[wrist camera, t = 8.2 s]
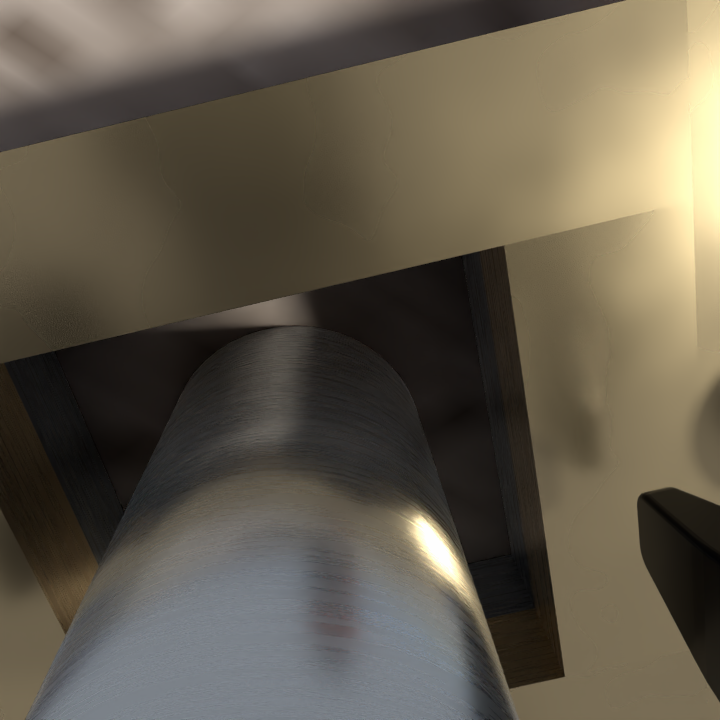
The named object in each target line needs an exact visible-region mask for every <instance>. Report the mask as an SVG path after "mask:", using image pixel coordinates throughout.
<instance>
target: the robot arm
mask: <svg viewBox="0 0 720 720" xmlns="http://www.w3.org/2000/svg"><path fill="white" fill-rule="evenodd" d="M637 515H638V528H639V542H640V550H641V555H642V558H643V561H644V564H645V566H646V568H647V570H648V572H649V574H650V576H651V578H652V580H653V582H654V583H655V585H656V587H657V589H658V591H659V593H660V595H661V597H662V599H663V601H664V602H665V604H666V606H667V608H668V610H669V612H670V614H671V616H672V618H673V620H674V622H675V623H676V625H677V627H678V629H679V631H680V633H681V635H682V637H683V639H684V641H685V642H686V644H687V646H688V648H689V650H690V652H691V654H692V656H693V658H694V660H695V662H696V663H697V665H698V667H699V669H700V671H701V672H702V674H703V676H704V678H705V680H706V681H707V683H708V685H709V686H710V688H711V690H712V691H713V693H714V694H715V696H716V697H717V699H718V701H719V702H720V505H717V504H715V503H712V502H710V501H707V500H705V499H703V498H700V497H698V496H695V495H693V494H690V493H688V492H685V491H683V490H680V489H678V488H675V487H665V488H660V489H656V490H652V491H647V492H643V493H641V494H640V495H639V497H638V500H637Z"/></svg>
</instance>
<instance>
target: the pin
mask: <svg viewBox="0 0 720 720" xmlns="http://www.w3.org/2000/svg"><path fill="white" fill-rule="evenodd" d="M25 720H519V718H518V715H517V712H516V709H515V706H514V702H513V699H512V696H511V693H510V690H509V687H508V684H507V681H506V678H505V675H504V672H503V669H502V666H501V663H500V660H499V657H498V654H497V651H496V648H495V645H494V642H493V639H492V636H491V633H490V630H489V627H488V624H487V621H486V618H485V615H484V612H483V609H482V606H481V603H480V600H479V597H478V594H477V591H476V588H475V585H474V582H473V579H472V576H471V572H470V569H469V566H468V563H467V560H466V557H465V554H464V551H463V548H462V545H461V542H460V539H459V536H458V533H457V530H456V527H455V524H454V521H453V518H452V515H451V512H450V509H449V506H448V503H447V500H446V497H445V494H444V491H443V488H442V485H441V482H440V479H439V476H438V473H437V470H436V467H435V464H434V461H433V458H432V455H431V452H430V449H429V446H428V443H427V439H426V436H425V433H424V430H423V427H422V424H421V421H420V418H419V415H418V412H417V409H416V406H415V403H414V401H413V398H412V396H411V394H410V392H409V390H408V388H407V386H406V385H405V383H404V381H403V380H402V378H401V377H400V375H399V374H398V373H397V372H396V371H395V369H394V368H393V367H392V366H391V365H390V364H389V363H388V362H387V361H386V360H385V359H384V358H383V357H381V356H380V355H379V354H378V353H377V352H375V351H374V350H372V349H371V348H369V347H368V346H366V345H365V344H363V343H361V342H359V341H357V340H355V339H353V338H351V337H349V336H346V335H343V334H340V333H338V332H335V331H331V330H326V329H322V328H317V327H306V326H284V327H276V328H270V329H264V330H261V331H257V332H254V333H251V334H248V335H245V336H243V337H241V338H239V339H236V340H234V341H232V342H230V343H229V344H227V345H225V346H224V347H222V348H221V349H219V350H218V351H216V352H215V353H214V354H213V355H211V356H210V357H209V358H208V359H207V360H205V361H204V363H203V364H202V365H201V366H200V367H199V368H198V369H197V370H196V371H195V372H194V374H193V375H192V377H191V378H190V380H189V381H188V383H187V384H186V386H185V388H184V390H183V392H182V394H181V396H180V398H179V400H178V402H177V404H176V406H175V408H174V410H173V412H172V414H171V417H170V419H169V421H168V423H167V425H166V427H165V429H164V431H163V433H162V435H161V437H160V439H159V442H158V444H157V446H156V448H155V450H154V452H153V454H152V456H151V458H150V460H149V462H148V464H147V467H146V469H145V471H144V473H143V475H142V477H141V479H140V481H139V483H138V485H137V487H136V489H135V492H134V494H133V496H132V498H131V500H130V502H129V504H128V506H127V508H126V510H125V512H124V514H123V516H122V519H121V521H120V523H119V525H118V527H117V529H116V531H115V533H114V535H113V537H112V539H111V541H110V544H109V546H108V548H107V550H106V552H105V554H104V556H103V558H102V560H101V562H100V564H99V566H98V569H97V571H96V573H95V575H94V577H93V579H92V581H91V583H90V585H89V587H88V589H87V591H86V594H85V596H84V598H83V600H82V602H81V604H80V606H79V608H78V610H77V612H76V614H75V616H74V619H73V621H72V623H71V625H70V627H69V629H68V631H67V633H66V635H65V637H64V639H63V641H62V644H61V646H60V648H59V650H58V652H57V654H56V656H55V658H54V660H53V662H52V664H51V666H50V668H49V671H48V673H47V675H46V677H45V679H44V681H43V683H42V685H41V687H40V689H39V691H38V693H37V696H36V698H35V700H34V702H33V704H32V706H31V708H30V710H29V712H28V714H27V716H26V718H25Z"/></svg>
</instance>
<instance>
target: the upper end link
mask: <svg viewBox="0 0 720 720" xmlns="http://www.w3.org/2000/svg"><path fill="white" fill-rule="evenodd" d="M478 251H479V252H480V259H481V265H482V271H483V278H484V284H485V291H486V297H487V303H488V310H489V316H490V323H491V329H492V335H493V342H494V348H495V355H496V361H497V368H498V374H499V380H500V387H501V393H502V400H503V406H504V412H505V419H506V425H507V432H508V438H509V444H510V451H511V457H512V464H513V470H514V476H515V483H516V489H517V496H518V502H519V509H520V515H521V521H522V528H523V534H524V541H525V547H526V553H527V560H528V566H529V573H530V579H531V585H532V592H533V598H534V605H535V608H534V609H529V610H525V611H520V612H516V613H511V614H507V615H502V616H498V617H493V618H489V619H486V621H487V624H488V627H489V630H490V633H491V636H492V639H493V642H494V645H495V648H496V651H497V654H498V657H499V660H500V663H501V666H502V669H503V672H504V675H505V678H506V681H507V684H508V687H509V690H510V693H511V696H512V699H513V702H514V706H515V709H516V712H517V715H518V718H519V720H720V702H719V701H718V699H717V697H716V696H715V694H714V693H713V691H712V690H711V688H710V686H709V685H708V683H707V681H706V680H705V678H704V676H703V674H702V672H701V671H700V669H699V667H698V665H697V663H696V662H695V660H694V658H693V656H692V654H691V652H690V650H689V648H688V646H687V644H686V642H685V641H684V639H683V637H682V635H681V633H680V631H679V629H678V627H677V625H676V623H675V622H674V620H673V618H672V616H671V614H670V612H669V610H668V608H667V606H666V604H665V602H664V601H663V599H662V597H661V595H660V593H659V591H658V589H657V587H656V585H655V583H654V582H653V580H652V578H651V576H650V574H649V572H648V570H647V568H646V566H645V564H644V561H643V558H642V555H641V550H640V542H639V528H638V515H637V500H638V497H639V495H640V494H641V493H643V492H647V491H652V490H656V489H660V488H665V487H675V488H678V489H680V490H683V491H685V492H688V493H690V494H693V495H695V496H698V497H700V498H703V499H705V500H707V501H710V502H712V503H715V504H717V505H720V0H625V1H621V2H617V3H613V4H609V5H604V6H600V7H596V8H592V9H588V10H584V11H580V12H576V13H572V14H567V15H563V16H559V17H555V18H551V19H547V20H543V21H539V22H534V23H530V24H526V25H522V26H518V27H514V28H510V29H506V30H502V31H497V32H493V33H489V34H485V35H481V36H477V37H473V38H469V39H464V40H460V41H456V42H452V43H448V44H444V45H440V46H436V47H432V48H427V49H423V50H419V51H415V52H411V53H407V54H403V55H399V56H394V57H390V58H386V59H382V60H378V61H374V62H370V63H366V64H362V65H357V66H353V67H349V68H345V69H341V70H337V71H333V72H329V73H324V74H320V75H316V76H312V77H308V78H304V79H300V80H296V81H292V82H287V83H283V84H279V85H275V86H271V87H267V88H263V89H259V90H255V91H250V92H246V93H242V94H238V95H234V96H230V97H226V98H222V99H217V100H213V101H209V102H205V103H201V104H197V105H193V106H189V107H185V108H180V109H176V110H172V111H168V112H164V113H160V114H156V115H152V116H147V117H143V118H139V119H135V120H131V121H127V122H123V123H119V124H115V125H110V126H106V127H102V128H98V129H94V130H90V131H86V132H82V133H77V134H73V135H69V136H65V137H61V138H57V139H53V140H49V141H45V142H40V143H36V144H32V145H28V146H24V147H20V148H16V149H12V150H8V151H3V152H0V720H25V718H26V716H27V714H28V712H29V710H30V708H31V706H32V704H33V702H34V700H35V698H36V696H37V693H38V691H39V689H40V687H41V685H42V683H43V681H44V679H45V677H46V675H47V673H48V671H49V668H50V666H51V664H52V662H53V660H54V658H55V656H56V654H57V652H58V650H59V648H60V646H61V644H62V641H63V639H64V637H65V635H66V633H67V631H68V629H69V627H70V625H71V623H72V621H73V619H74V616H75V614H76V612H77V610H78V608H79V606H80V604H81V602H82V600H83V598H84V596H85V594H86V591H87V589H88V587H89V585H90V583H91V581H92V579H93V577H94V575H95V573H96V571H97V569H98V564H97V561H96V559H95V557H94V555H93V553H92V551H91V549H90V546H89V544H88V542H87V540H86V538H85V536H84V534H83V531H82V529H81V527H80V525H79V523H78V521H77V519H76V516H75V514H74V512H73V510H72V508H71V506H70V504H69V501H68V499H67V497H66V495H65V493H64V491H63V488H62V486H61V484H60V482H59V480H58V478H57V476H56V473H55V471H54V469H53V467H52V465H51V463H50V461H49V458H48V456H47V454H46V452H45V450H44V448H43V446H42V443H41V441H40V439H39V437H38V435H37V433H36V431H35V428H34V426H33V424H32V422H31V420H30V418H29V415H28V413H27V411H26V409H25V407H24V405H23V403H22V400H21V398H20V396H19V394H18V392H17V390H16V388H15V385H14V383H13V381H12V379H11V377H10V375H9V373H8V370H7V368H6V366H5V364H4V363H5V362H9V361H13V360H17V359H22V358H26V357H30V356H35V355H39V354H43V353H47V352H52V351H56V350H60V349H64V348H69V347H73V346H77V345H81V344H86V343H90V342H94V341H98V340H103V339H107V338H111V337H115V336H120V335H124V334H128V333H133V332H137V331H141V330H145V329H150V328H154V327H158V326H162V325H167V324H171V323H175V322H179V321H184V320H188V319H192V318H196V317H201V316H205V315H209V314H213V313H218V312H222V311H226V310H230V309H235V308H239V307H243V306H248V305H252V304H256V303H260V302H265V301H269V300H273V299H277V298H282V297H286V296H290V295H294V294H299V293H303V292H307V291H311V290H316V289H320V288H324V287H328V286H333V285H337V284H341V283H346V282H350V281H354V280H358V279H363V278H367V277H371V276H375V275H380V274H384V273H388V272H392V271H397V270H401V269H405V268H409V267H414V266H418V265H422V264H426V263H431V262H435V261H439V260H444V259H448V258H452V257H456V256H461V255H465V254H469V253H473V252H478Z"/></svg>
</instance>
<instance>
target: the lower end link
mask: <svg viewBox="0 0 720 720" xmlns="http://www.w3.org/2000/svg"><path fill="white" fill-rule="evenodd" d="M462 260H463V266H464V272H465V278H466V284H467V290H468V296H469V302H470V308H471V314H472V320H473V326H474V332H475V338H476V344H477V350H478V356H479V362H480V368H481V374H482V380H483V386H484V392H485V398H486V404H487V410H488V416H489V422H490V428H491V434H492V440H493V446H494V452H495V458H496V464H497V470H498V476H499V482H500V488H501V494H502V500H503V506H504V512H505V518H506V524H507V530H508V536H509V542H510V548H511V555H507V556H502V557H498V558H493V559H489V560H484V561H480V562H475V563H471V564H468V566H469V569H470V572H471V576H472V579H473V582H474V585H475V588H476V591H477V594H478V597H479V600H480V603H481V606H482V609H483V612H484V615H485V618H486V619H489V618H493V617H498V616H502V615H507V614H511V613H516V612H520V611H525V610H529V609H534V608H535V605H534V598H533V592H532V585H531V579H530V573H529V566H528V560H527V553H526V547H525V541H524V534H523V528H522V521H521V515H520V509H519V502H518V496H517V489H516V483H515V476H514V470H513V464H512V457H511V451H510V444H509V438H508V432H507V425H506V419H505V412H504V406H503V400H502V393H501V387H500V380H499V374H498V368H497V361H496V355H495V348H494V342H493V335H492V329H491V323H490V316H489V310H488V303H487V297H486V291H485V284H484V278H483V271H482V265H481V259H480V252H479V251H478V252H473V253H469V254H465V255H462ZM4 364H5V366H6V368H7V370H8V373H9V375H10V377H11V379H12V381H13V383H14V385H15V388H16V390H17V392H18V394H19V396H20V398H21V400H22V403H23V405H24V407H25V409H26V411H27V413H28V415H29V418H30V420H31V422H32V424H33V426H34V428H35V431H36V433H37V435H38V437H39V439H40V441H41V443H42V446H43V448H44V450H45V452H46V454H47V456H48V458H49V461H50V463H51V465H52V467H53V469H54V471H55V473H56V476H57V478H58V480H59V482H60V484H61V486H62V488H63V491H64V493H65V495H66V497H67V499H68V501H69V504H70V506H71V508H72V510H73V512H74V514H75V516H76V519H77V521H78V523H79V525H80V527H81V529H82V531H83V534H84V536H85V538H86V540H87V542H88V544H89V546H90V549H91V551H92V553H93V555H94V557H95V559H96V561H97V564H98V566H99V564H100V562H101V560H102V558H103V556H104V554H105V552H106V550H107V548H108V546H109V544H110V541H111V539H112V537H113V535H114V533H115V531H116V529H117V527H118V525H119V523H120V521H121V519H122V516H123V514H124V512H123V509H122V507H121V505H120V502H119V500H118V498H117V496H116V493H115V491H114V489H113V486H112V484H111V482H110V479H109V477H108V475H107V472H106V470H105V468H104V465H103V463H102V461H101V458H100V456H99V454H98V451H97V449H96V447H95V444H94V442H93V440H92V438H91V435H90V433H89V431H88V428H87V426H86V424H85V421H84V419H83V417H82V414H81V412H80V410H79V407H78V405H77V403H76V400H75V398H74V396H73V393H72V391H71V389H70V386H69V384H68V382H67V380H66V377H65V375H64V373H63V370H62V368H61V366H60V363H59V361H58V359H57V356H56V354H55V352H54V351H52V352H47V353H43V354H39V355H35V356H30V357H26V358H22V359H17V360H13V361H9V362H5V363H4Z"/></svg>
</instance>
